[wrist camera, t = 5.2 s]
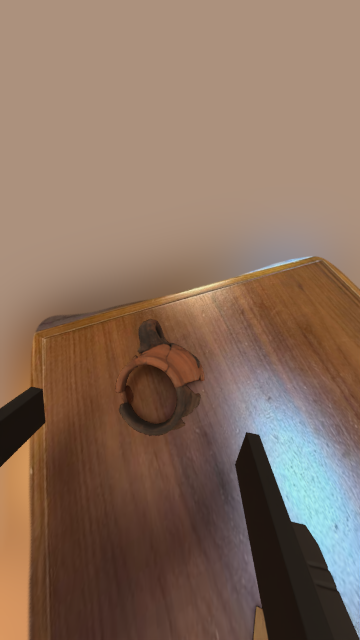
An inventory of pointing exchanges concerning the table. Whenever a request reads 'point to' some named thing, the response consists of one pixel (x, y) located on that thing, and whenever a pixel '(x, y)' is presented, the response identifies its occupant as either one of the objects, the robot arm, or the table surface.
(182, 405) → the pottery mug
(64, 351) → the table surface
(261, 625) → the wooden tray
